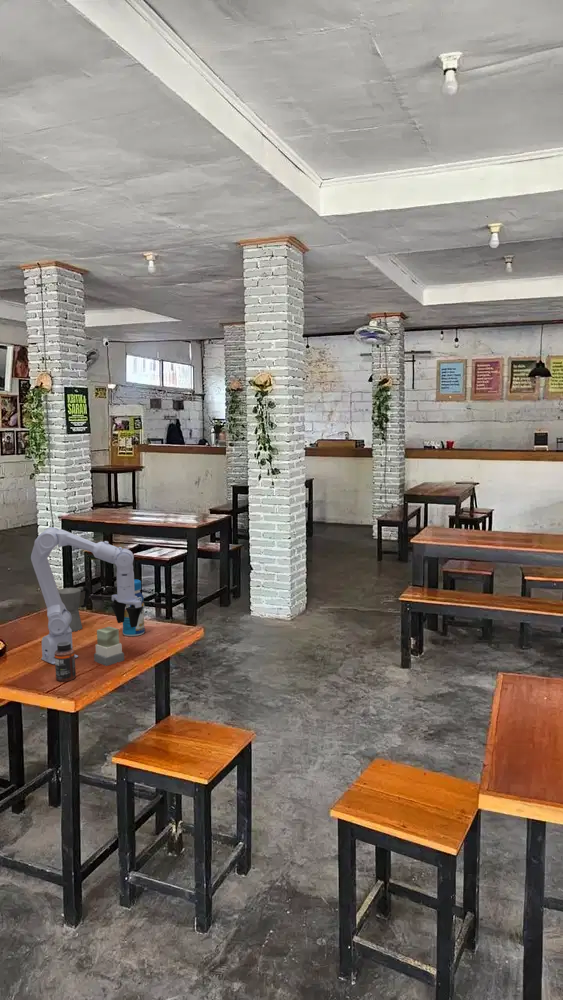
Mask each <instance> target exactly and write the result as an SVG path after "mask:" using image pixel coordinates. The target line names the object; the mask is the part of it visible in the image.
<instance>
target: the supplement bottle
mask: <svg viewBox="0 0 563 1000" xmlns="http://www.w3.org/2000/svg"><path fill="white" fill-rule="evenodd" d="M57 648H58V649H57V650H56V651H55V664H54V666H55V668H54V669H55V679H56V680H57V681H58V682H68V681H72V680H74V679H75V678H76V677H77V674H76V671H77V670H76V660H75V659H76V658H75V655H76V653H75V650H74V649H72V648H71V643H70V642H60V643H58V644H57Z"/></svg>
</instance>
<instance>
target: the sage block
mask: <svg viewBox="0 0 563 1000" xmlns="http://www.w3.org/2000/svg"><path fill="white" fill-rule="evenodd" d="M119 632H120V631H119V628H116V627H112V626H106V627H103V628H99V629H96V639H97V640H96V642H97V645H100V646H103V647H106V648H107V647H111V646H114V645H117V644H119V643H120V633H119Z"/></svg>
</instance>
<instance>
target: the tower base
mask: <svg viewBox="0 0 563 1000" xmlns="http://www.w3.org/2000/svg"><path fill="white" fill-rule="evenodd" d="M93 656H94V657H93V661H94V662H95V663H98V664H100V665H103V666H104V667H108V666H111V665H115V664H117V662H118V663H120V662H121V663H122V662H123V661H125V652H123V651H122V653H119V654H116V655H112V656H109V657H105V656H102V655H99V654H96V652H95V653H93Z"/></svg>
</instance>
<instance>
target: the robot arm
mask: <svg viewBox="0 0 563 1000" xmlns="http://www.w3.org/2000/svg"><path fill="white" fill-rule="evenodd" d="M33 542H34V544H33V547H32V551H31V555H30V560H31V564H32V566H33V567H32V568H33V569H34V573H35V576H36V579H37V581H38V585H39V588H40V590H41V593H42V597H43V600H44V602H45V606H46V612H47V613H46V616H47V618H48V624H47V628H48V632H49V633H48V634H47V635H44V636H43V637H42V639H41V655H42V656H41V658H40V659H41V660H42V661H45V662H46V663H49V664H51V665H55V651H56V650H57V649H58V648H57V644H58V643H60V642H70V643H71V648H72V649H73V648H74V647H73V632H72V629H71V628H70V626H69V624H70V623H71V621H72V616H71V614H70V612H68V611H67V609H66V607H65V605H64V604H63V602H62V601H61V598H60V595H59V592H58V590H59V589H58V586H57V583H56V579H55V577H54V573H53V571H52V567H51V564H50V562H49V560H48V559H49V557H50V554H51V553H52V551H53V550H54V549H55V548H56V547H57V546H58V548H62V547H66V546H71V547H75V548H78V549H81V550H83V551H87V552H91V553H92V554H93V556H94V558H96V559H99V560H101V561H104V562H107V563H109V564H114V565H115V566H116V591H117V594H112V595H111V603H109V605H110V607H111V609H112V610H113V612H114V615H115V619H116V621H117V622H116V623H117V624H123V622H124V613H125V607H126V604H128V605H131V607H127V608H126V610H127V612H128V615H129V620H130V626H131V627H132V628H133V627H136V626H137V623H138V619H139V615H140V613H141V611H142V609H143V606H142V605H141V601H139V600H138V599H137V596H135V590H134V579H135V572H134V560H135V559H134V558H135V557H134V556H135V555H134V553H133V551H131V550H130V549H128V548H123V547H121V546H119V547H118V546H115V545H112V544H110V543H109V541H108V540H104V541H98V542H94V541H91V540H89V539H87V538H84V537H82V536H80V535H78V534H75V533H72V532H70V531H67V530H65V529H61V528H59V529H58V528H57V527H54V526H53V527H52V526H51V527H47V528H45V530H43V531H42V532H40V534H39V535H38V536H37V538H36V539H34V541H33ZM73 650H74V649H73ZM76 658H79V655H77V654H75V659H76Z"/></svg>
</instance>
